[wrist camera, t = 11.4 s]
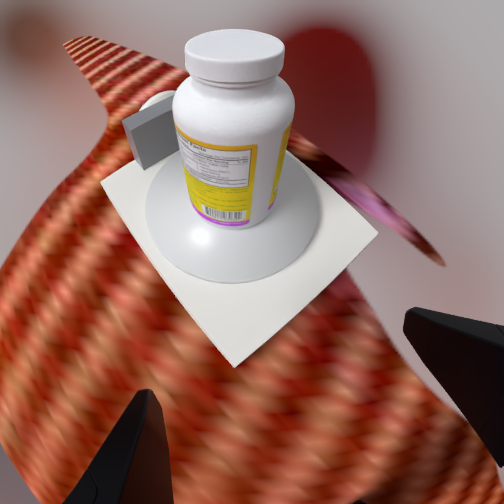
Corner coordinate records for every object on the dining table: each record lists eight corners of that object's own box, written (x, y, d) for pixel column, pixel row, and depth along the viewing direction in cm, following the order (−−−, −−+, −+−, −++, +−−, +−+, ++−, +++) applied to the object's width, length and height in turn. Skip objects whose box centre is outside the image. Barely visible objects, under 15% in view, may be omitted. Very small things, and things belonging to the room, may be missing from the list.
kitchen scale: (365, 247, 25) (410, 196, 17) (234, 368, 20) (235, 364, 12) (227, 125, 31) (228, 65, 23) (107, 194, 26) (76, 136, 18)
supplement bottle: (245, 155, 24) (256, 18, 12) (291, 209, 22) (336, 59, 10) (176, 187, 22) (146, 41, 10) (216, 249, 20) (201, 86, 8)
